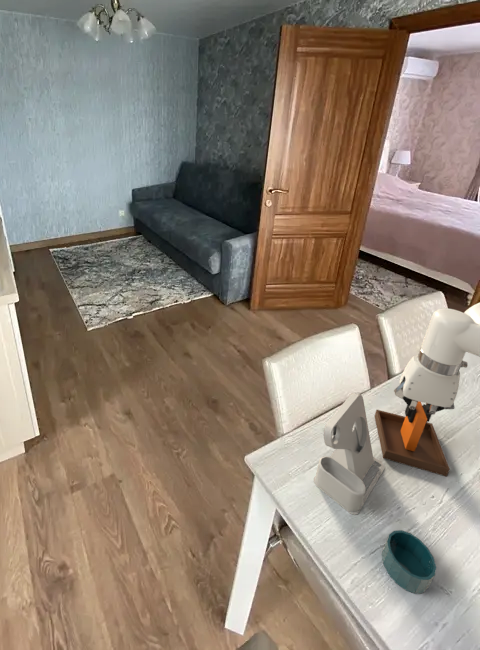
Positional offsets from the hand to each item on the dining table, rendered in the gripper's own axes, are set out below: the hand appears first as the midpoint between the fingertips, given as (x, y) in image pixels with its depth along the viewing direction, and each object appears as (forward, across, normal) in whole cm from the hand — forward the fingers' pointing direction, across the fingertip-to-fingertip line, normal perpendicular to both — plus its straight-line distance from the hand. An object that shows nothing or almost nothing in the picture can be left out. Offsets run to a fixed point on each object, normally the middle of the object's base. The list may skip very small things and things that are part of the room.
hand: (415, 419), depth 85 cm
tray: (+8, 0, 0) cm, 8 cm away
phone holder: (+9, +15, +14) cm, 22 cm away
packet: (+8, 0, 0) cm, 8 cm away
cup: (+8, +7, +30) cm, 32 cm away
